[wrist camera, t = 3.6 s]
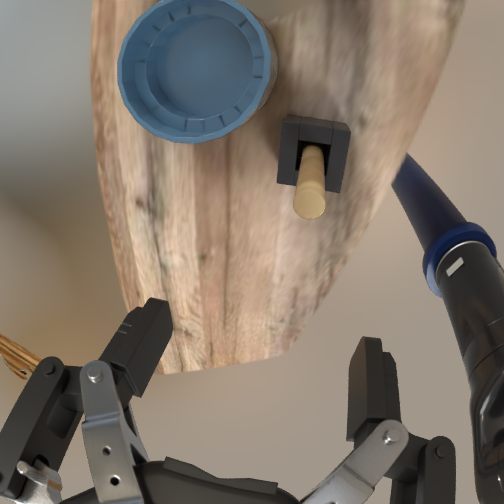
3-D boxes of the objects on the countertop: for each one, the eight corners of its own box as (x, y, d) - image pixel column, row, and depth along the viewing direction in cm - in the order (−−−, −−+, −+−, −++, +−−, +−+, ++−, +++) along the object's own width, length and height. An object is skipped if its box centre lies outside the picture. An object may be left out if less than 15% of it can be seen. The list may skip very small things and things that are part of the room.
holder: (346, 123, 28) (350, 131, 25) (337, 177, 32) (339, 193, 28) (287, 114, 29) (282, 121, 25) (281, 169, 33) (276, 183, 29)
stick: (323, 138, 30) (328, 192, 17) (321, 156, 31) (322, 222, 19) (305, 136, 30) (294, 187, 18) (302, 153, 31) (291, 217, 19)
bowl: (282, 2, 22) (275, -11, 18) (272, 137, 31) (264, 150, 26) (146, 10, 24) (119, 5, 20) (145, 129, 33) (120, 141, 28)
